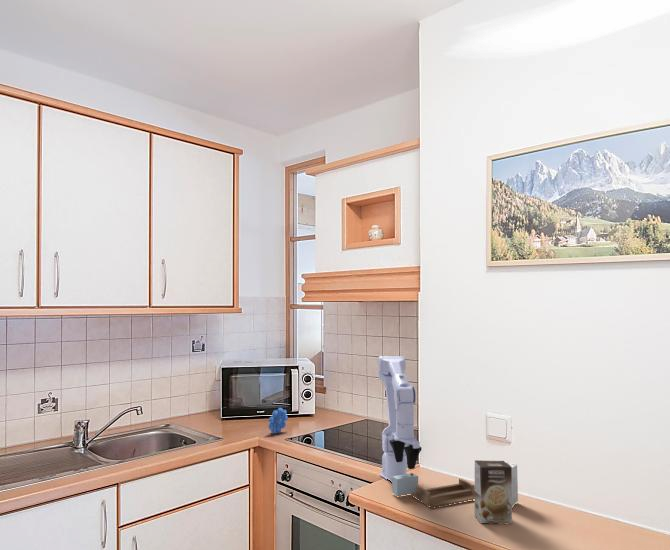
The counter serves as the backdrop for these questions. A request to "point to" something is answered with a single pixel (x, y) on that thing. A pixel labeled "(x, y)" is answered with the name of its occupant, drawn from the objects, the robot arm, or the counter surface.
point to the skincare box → (514, 483)
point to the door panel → (404, 484)
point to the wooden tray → (446, 494)
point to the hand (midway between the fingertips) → (405, 465)
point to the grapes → (278, 420)
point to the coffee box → (493, 492)
